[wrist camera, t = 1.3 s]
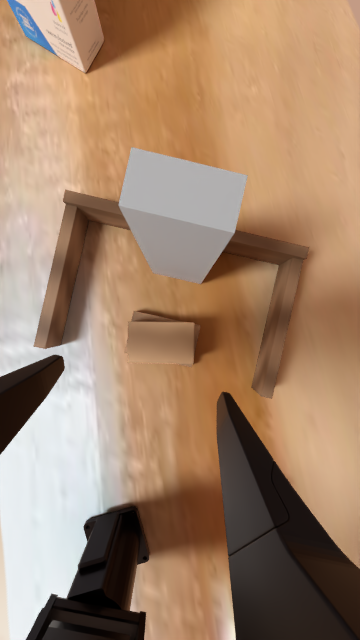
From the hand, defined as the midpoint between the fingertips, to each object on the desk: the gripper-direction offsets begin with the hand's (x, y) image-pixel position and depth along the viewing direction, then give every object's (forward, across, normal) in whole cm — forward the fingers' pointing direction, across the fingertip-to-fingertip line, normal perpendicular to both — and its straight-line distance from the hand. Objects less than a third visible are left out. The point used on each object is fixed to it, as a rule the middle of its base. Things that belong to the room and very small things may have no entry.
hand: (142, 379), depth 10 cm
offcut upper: (+10, 0, +4) cm, 10 cm away
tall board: (+15, 0, -3) cm, 15 cm away
